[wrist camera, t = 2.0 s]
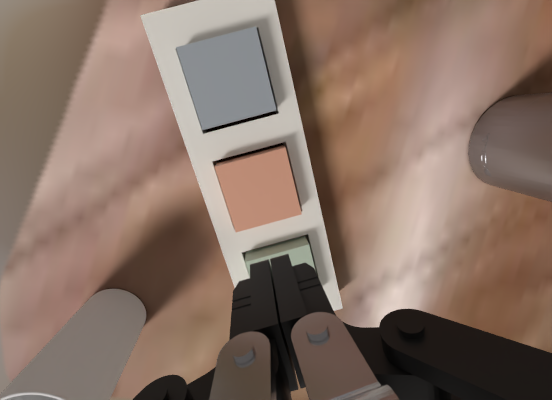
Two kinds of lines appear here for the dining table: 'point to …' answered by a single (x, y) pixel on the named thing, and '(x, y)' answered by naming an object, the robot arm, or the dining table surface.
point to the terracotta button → (258, 188)
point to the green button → (283, 252)
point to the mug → (84, 352)
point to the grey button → (227, 78)
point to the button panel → (242, 128)
